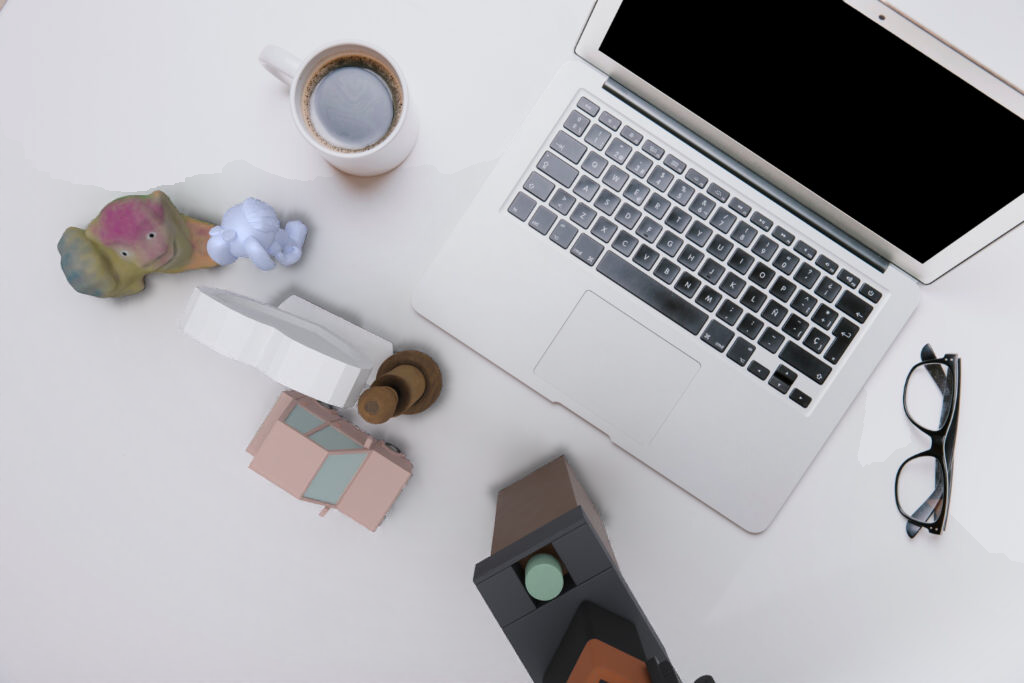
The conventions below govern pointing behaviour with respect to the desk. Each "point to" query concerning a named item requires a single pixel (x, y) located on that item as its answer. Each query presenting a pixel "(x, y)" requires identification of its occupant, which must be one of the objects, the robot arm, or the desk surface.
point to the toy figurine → (256, 236)
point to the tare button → (543, 577)
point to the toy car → (328, 460)
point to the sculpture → (133, 246)
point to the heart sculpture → (288, 343)
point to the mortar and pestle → (401, 387)
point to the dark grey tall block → (580, 551)
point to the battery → (598, 650)
